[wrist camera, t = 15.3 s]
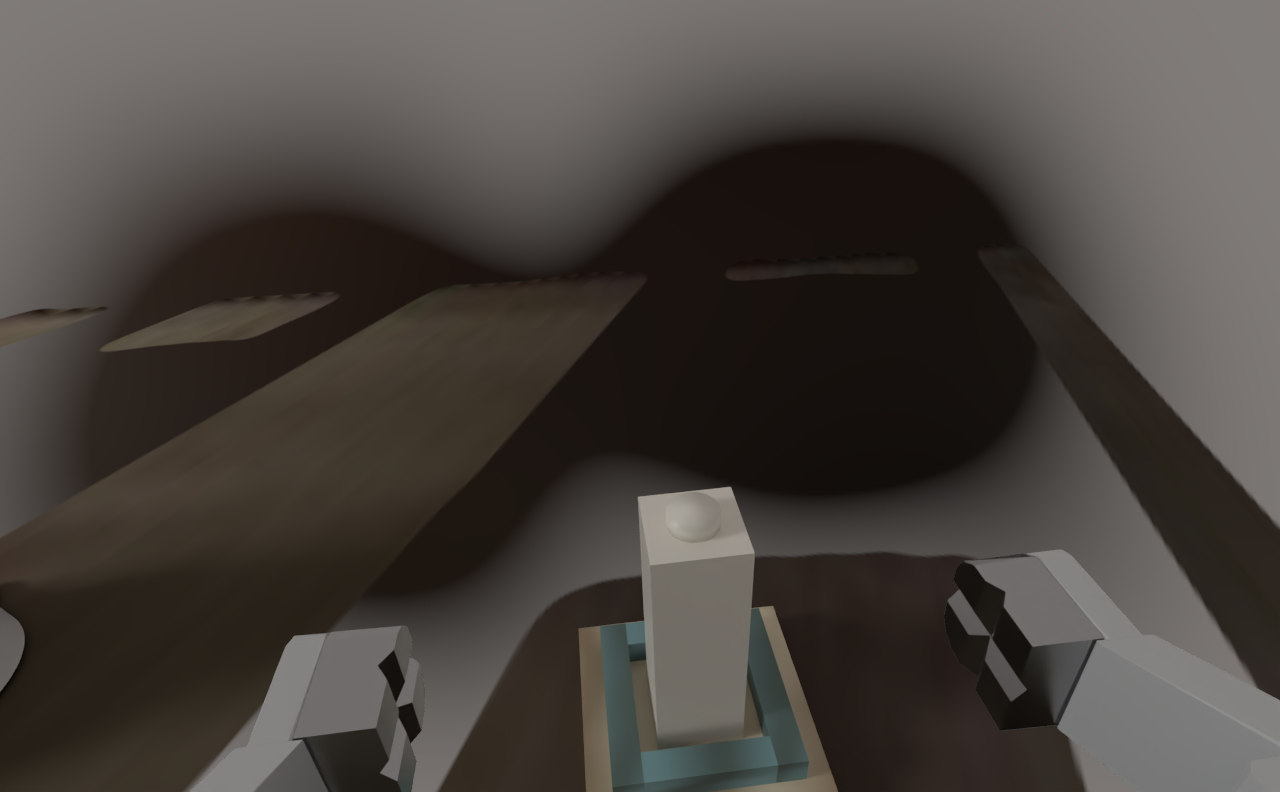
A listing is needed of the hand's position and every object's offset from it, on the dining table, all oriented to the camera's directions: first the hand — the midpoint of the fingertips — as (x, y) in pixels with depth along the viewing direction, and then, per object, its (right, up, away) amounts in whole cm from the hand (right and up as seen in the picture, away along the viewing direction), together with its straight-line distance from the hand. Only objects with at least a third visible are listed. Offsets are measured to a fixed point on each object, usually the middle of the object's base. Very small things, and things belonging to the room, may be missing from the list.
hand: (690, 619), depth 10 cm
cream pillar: (+2, -13, +27) cm, 31 cm away
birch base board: (+2, -15, +29) cm, 32 cm away
